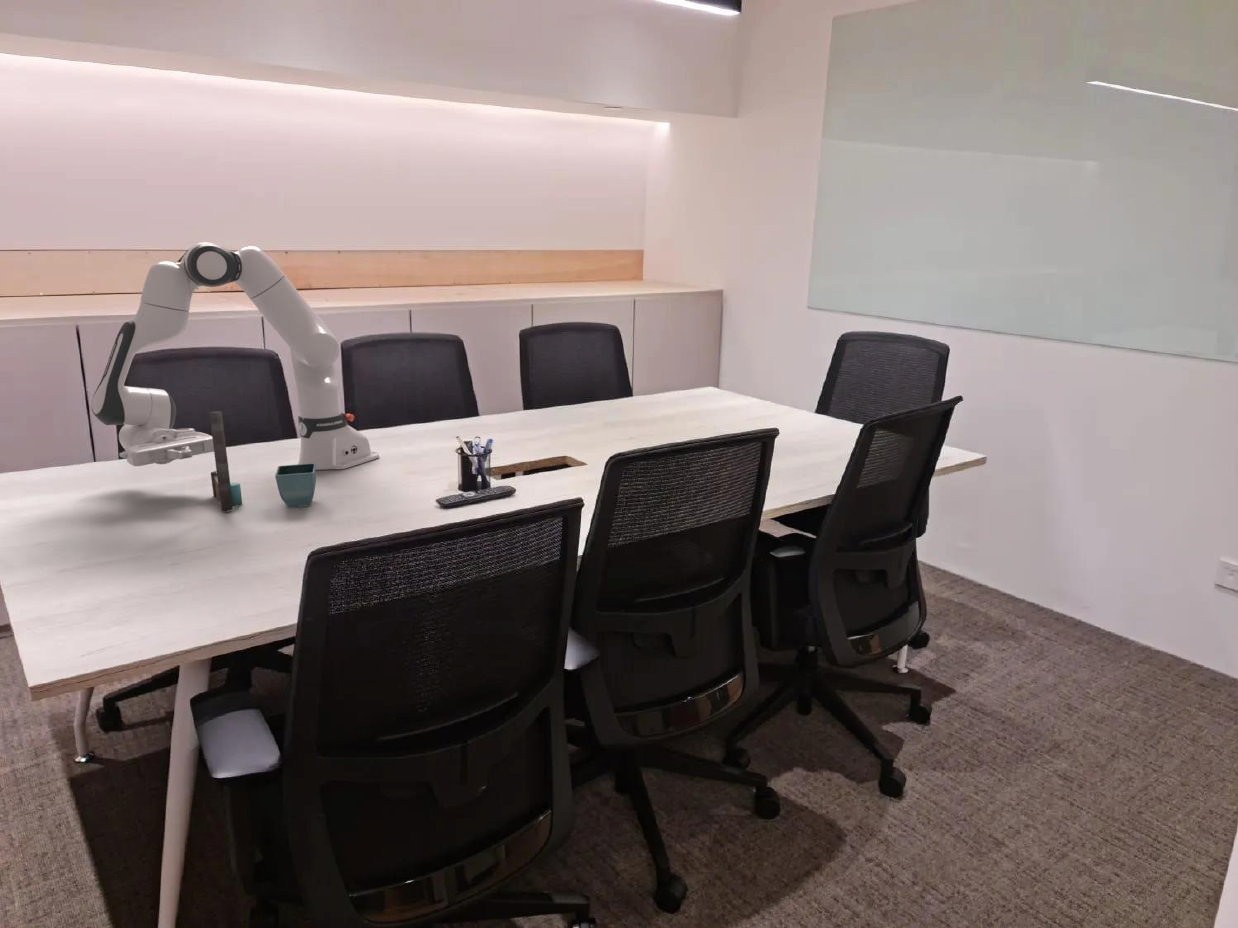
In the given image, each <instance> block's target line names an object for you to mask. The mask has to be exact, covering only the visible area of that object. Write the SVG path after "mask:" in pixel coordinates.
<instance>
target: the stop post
mask: <svg viewBox="0 0 1238 928" xmlns="http://www.w3.org/2000/svg"><path fill="white" fill-rule="evenodd" d="M230 485H231V493H232V502H233V507H238V506H241V505H243V498H242V497H243V496H242V488H241V483H239V482H233V483H231V482H230Z"/></svg>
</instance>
